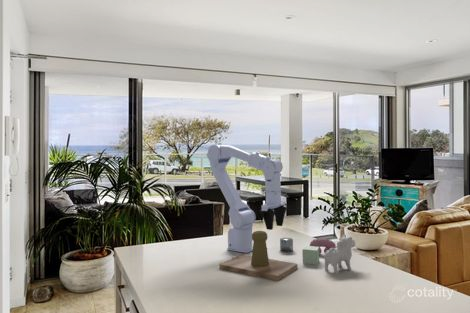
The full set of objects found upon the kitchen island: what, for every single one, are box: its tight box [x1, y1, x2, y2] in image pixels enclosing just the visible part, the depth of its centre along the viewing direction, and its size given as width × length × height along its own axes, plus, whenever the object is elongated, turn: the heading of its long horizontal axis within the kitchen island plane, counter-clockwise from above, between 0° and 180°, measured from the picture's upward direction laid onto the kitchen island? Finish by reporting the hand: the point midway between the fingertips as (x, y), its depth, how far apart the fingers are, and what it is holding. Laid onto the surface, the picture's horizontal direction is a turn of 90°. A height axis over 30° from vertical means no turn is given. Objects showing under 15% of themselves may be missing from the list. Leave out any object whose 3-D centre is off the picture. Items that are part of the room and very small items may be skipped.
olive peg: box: [251, 230, 269, 267], centre depth 124 cm, size 6×6×11 cm
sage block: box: [302, 245, 320, 266], centre depth 131 cm, size 5×5×5 cm
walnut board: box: [218, 253, 298, 282], centre depth 125 cm, size 22×14×2 cm, turn 56°
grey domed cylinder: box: [279, 237, 294, 253], centre depth 147 cm, size 5×5×4 cm
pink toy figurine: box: [309, 238, 337, 255], centre depth 140 cm, size 10×5×7 cm, turn 72°
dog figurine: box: [323, 234, 356, 274], centre depth 123 cm, size 5×13×11 cm, turn 126°
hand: (274, 227), depth 140 cm, fingers open, 7 cm apart
